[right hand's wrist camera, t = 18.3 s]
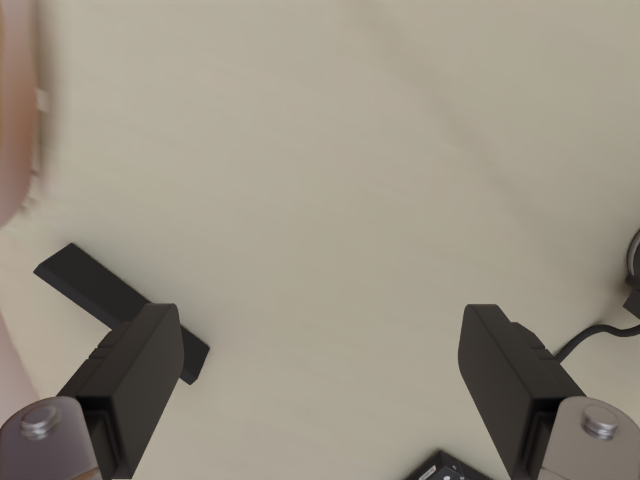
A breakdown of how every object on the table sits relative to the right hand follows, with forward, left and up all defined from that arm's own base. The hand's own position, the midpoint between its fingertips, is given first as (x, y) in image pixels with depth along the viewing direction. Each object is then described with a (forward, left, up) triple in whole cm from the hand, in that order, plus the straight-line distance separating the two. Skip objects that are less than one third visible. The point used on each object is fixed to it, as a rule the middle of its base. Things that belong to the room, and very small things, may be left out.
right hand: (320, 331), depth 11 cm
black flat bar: (-19, +14, -28) cm, 36 cm away
